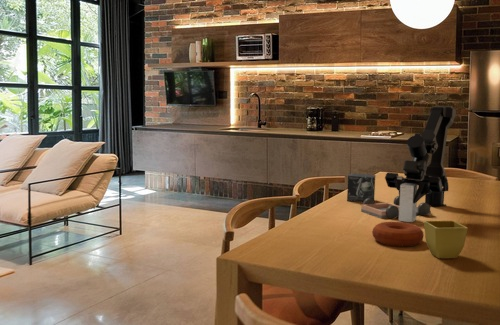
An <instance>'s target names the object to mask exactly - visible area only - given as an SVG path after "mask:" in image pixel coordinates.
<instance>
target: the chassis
mask: <svg viewBox="0 0 500 325" xmlns="http://www.w3.org/2000/svg"><path fill="white" fill-rule="evenodd" d="M399 204H400V201H399V195H397V196H395V197H394V199H393V203H391V202H380V203H376V201H375V199H374V200H373V199H370V198H367V199H365V200H364V202H362V204H361V206H360V208H361V210H360V212H361V213H365V214H368V215H369V216H373V217H376V218H378V219H392V220H393V219H395V218H399ZM431 213H432V210H431V206H430V205H429V204H427V203H425V202H420V203H419V204H418V206H417V207H416V216H428V215H431Z"/></svg>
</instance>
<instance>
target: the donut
mask: <svg viewBox="0 0 500 325" xmlns="http://www.w3.org/2000/svg"><path fill="white" fill-rule="evenodd" d="M371 233H372V237H373V238H374V239H375V241H377V242H379V243H381V244H383V245H386V246H391V247H399V248H400V247H405V248H406V247H407V248H408V247H413V246H417V245H419V244H420V243H422V241H423V239H424V237H425V233H424V231H423V230H422V229H421V228H420V227H419V226H418V225H416V224H413V223H411V222H405V221H383V222H380V223H377V224H375V225H374V227H373V228H372V232H371Z"/></svg>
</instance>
